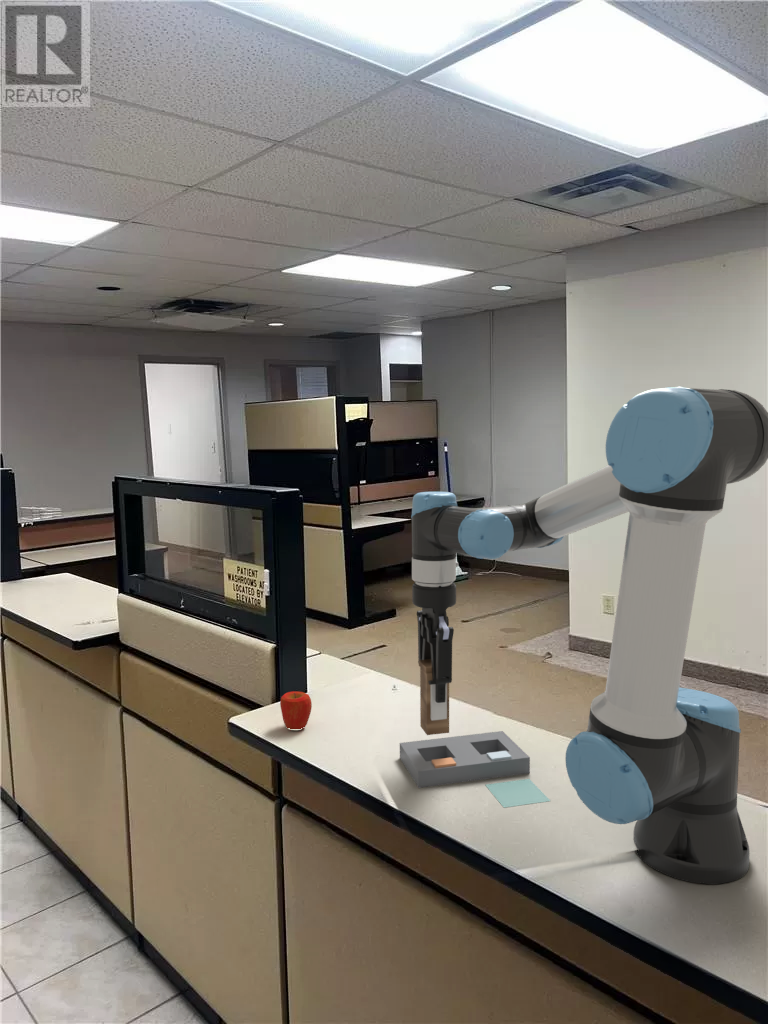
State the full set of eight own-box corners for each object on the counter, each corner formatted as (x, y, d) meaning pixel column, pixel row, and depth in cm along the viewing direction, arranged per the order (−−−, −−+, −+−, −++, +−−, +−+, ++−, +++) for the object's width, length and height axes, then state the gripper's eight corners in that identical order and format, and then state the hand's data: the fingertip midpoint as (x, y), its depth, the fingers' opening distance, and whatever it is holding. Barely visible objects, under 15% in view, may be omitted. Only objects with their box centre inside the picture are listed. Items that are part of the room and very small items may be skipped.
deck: (550, 807, 118) (550, 800, 118) (503, 814, 117) (503, 807, 116) (529, 785, 126) (529, 778, 126) (485, 791, 124) (485, 784, 124)
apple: (315, 723, 155) (315, 689, 154) (305, 735, 149) (304, 699, 148) (287, 721, 157) (286, 687, 156) (276, 732, 151) (275, 697, 150)
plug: (450, 733, 128) (450, 665, 127) (426, 735, 127) (426, 667, 126) (442, 723, 133) (442, 658, 131) (419, 725, 132) (418, 660, 130)
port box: (529, 779, 128) (529, 755, 128) (418, 794, 124) (418, 769, 123) (502, 751, 140) (502, 728, 140) (399, 764, 135) (399, 740, 135)
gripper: (472, 591, 120) (472, 730, 122) (439, 571, 136) (439, 695, 139) (427, 593, 118) (428, 735, 121) (400, 574, 135) (401, 698, 137)
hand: (434, 713), depth 130 cm, fingers closed on plug, 4 cm apart
